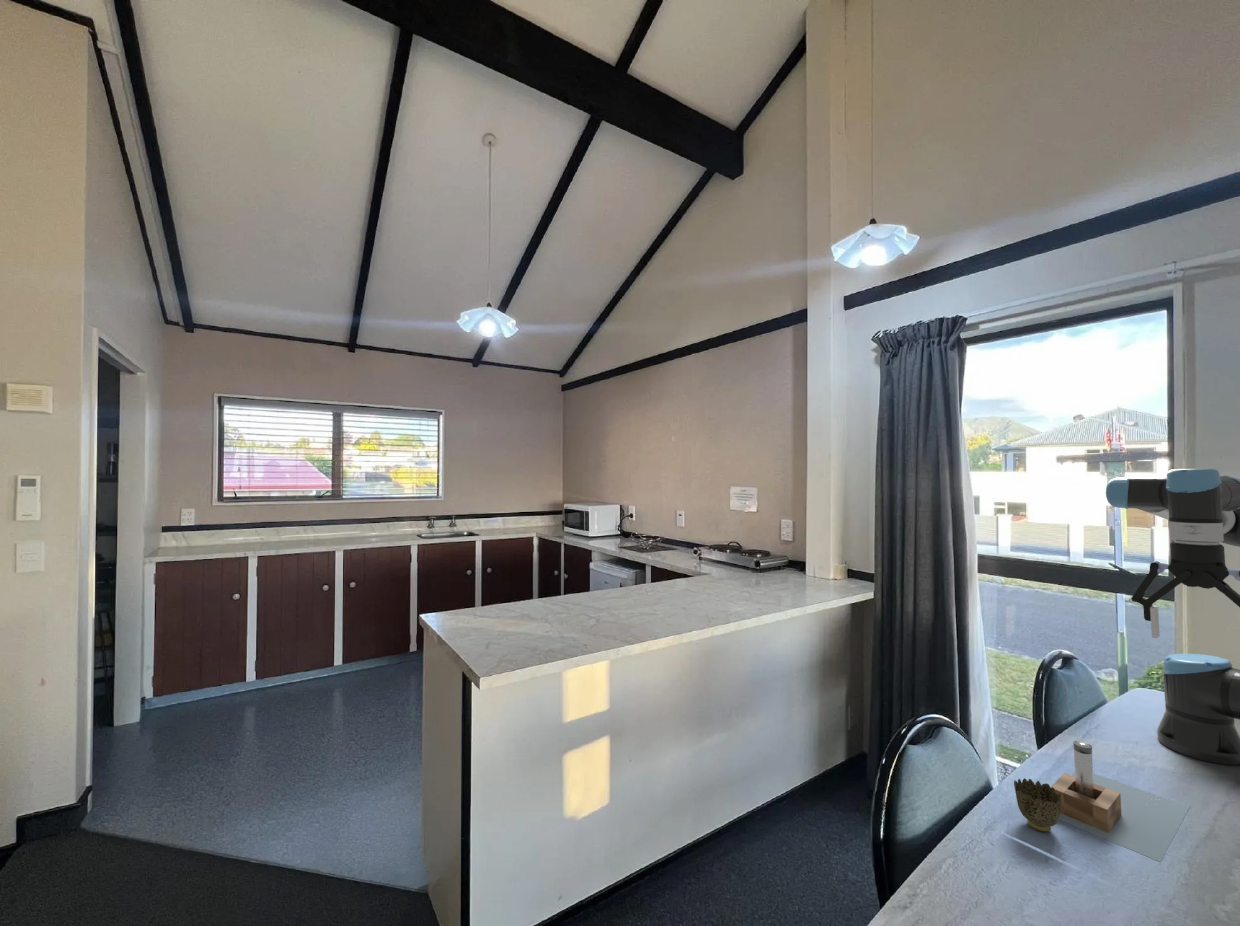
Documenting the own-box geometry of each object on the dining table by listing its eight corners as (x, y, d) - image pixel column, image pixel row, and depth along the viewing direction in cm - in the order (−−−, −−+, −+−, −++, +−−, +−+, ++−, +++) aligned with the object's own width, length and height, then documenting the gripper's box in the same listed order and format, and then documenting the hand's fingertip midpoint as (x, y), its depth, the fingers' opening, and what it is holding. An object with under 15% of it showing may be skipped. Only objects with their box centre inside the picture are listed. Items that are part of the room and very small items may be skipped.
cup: (1072, 844, 98) (1070, 802, 99) (1029, 839, 100) (1027, 798, 100) (1048, 818, 106) (1046, 779, 106) (1008, 814, 107) (1006, 776, 107)
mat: (1078, 769, 122) (1078, 767, 122) (1189, 808, 107) (1189, 806, 107) (1038, 812, 108) (1037, 810, 108) (1160, 864, 93) (1160, 861, 93)
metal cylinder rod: (1078, 805, 109) (1075, 738, 109) (1097, 812, 106) (1093, 744, 107) (1074, 810, 107) (1071, 742, 108) (1093, 818, 105) (1089, 748, 105)
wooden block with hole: (1065, 793, 113) (1064, 772, 113) (1121, 815, 106) (1120, 792, 106) (1051, 809, 108) (1050, 787, 108) (1108, 833, 101) (1107, 809, 101)
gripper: (1110, 538, 115) (1115, 633, 115) (1292, 550, 95) (1300, 666, 94) (1119, 535, 119) (1124, 627, 119) (1296, 546, 99) (1303, 657, 98)
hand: (1202, 644), depth 106 cm, fingers open, 13 cm apart
